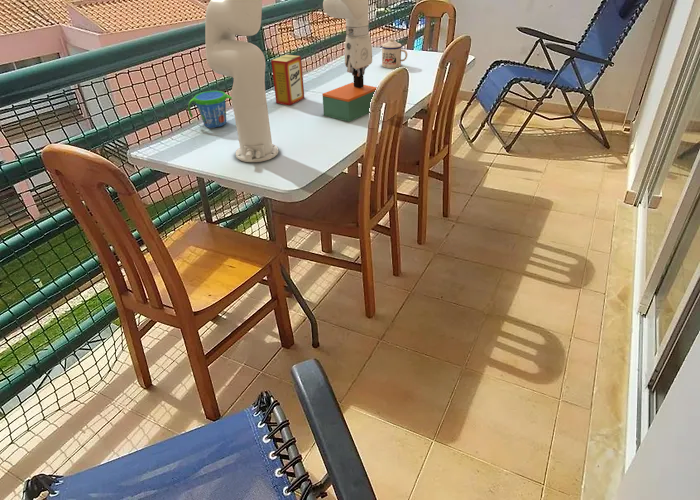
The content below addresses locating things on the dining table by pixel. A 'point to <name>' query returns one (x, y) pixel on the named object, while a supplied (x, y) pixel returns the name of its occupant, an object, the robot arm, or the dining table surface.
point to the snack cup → (211, 107)
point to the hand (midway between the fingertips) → (358, 86)
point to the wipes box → (347, 107)
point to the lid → (349, 92)
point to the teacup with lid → (392, 54)
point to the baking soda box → (288, 79)
